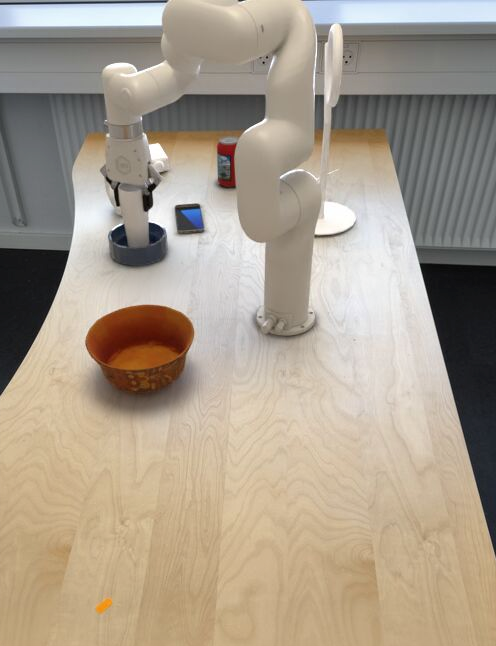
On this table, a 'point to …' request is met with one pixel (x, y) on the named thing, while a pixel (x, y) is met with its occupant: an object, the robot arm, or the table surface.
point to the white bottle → (158, 158)
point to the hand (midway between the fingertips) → (134, 206)
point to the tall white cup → (134, 214)
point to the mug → (112, 197)
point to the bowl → (141, 346)
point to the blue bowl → (138, 254)
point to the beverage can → (226, 160)
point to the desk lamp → (331, 214)
